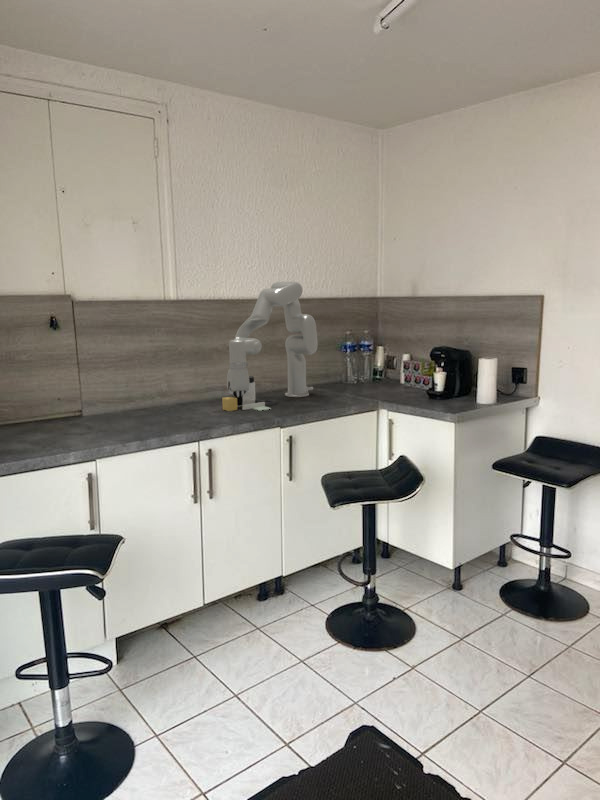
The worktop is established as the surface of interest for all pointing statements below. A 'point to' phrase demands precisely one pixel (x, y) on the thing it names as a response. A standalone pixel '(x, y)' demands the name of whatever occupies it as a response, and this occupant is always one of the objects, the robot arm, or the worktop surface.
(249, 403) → the channel
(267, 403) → the tray
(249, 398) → the jar
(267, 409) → the coaster
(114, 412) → the worktop surface
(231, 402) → the block
